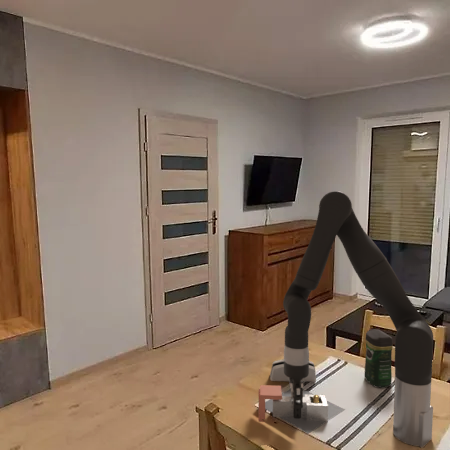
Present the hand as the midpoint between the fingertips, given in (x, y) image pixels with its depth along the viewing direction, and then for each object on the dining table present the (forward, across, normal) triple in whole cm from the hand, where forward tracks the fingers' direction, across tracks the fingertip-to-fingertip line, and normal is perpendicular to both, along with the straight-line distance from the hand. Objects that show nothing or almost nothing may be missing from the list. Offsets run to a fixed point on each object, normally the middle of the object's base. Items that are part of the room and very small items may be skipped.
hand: (295, 409), depth 123 cm
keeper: (+2, 0, +7) cm, 7 cm away
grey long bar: (+2, 0, -1) cm, 2 cm away
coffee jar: (+3, +24, -32) cm, 40 cm away
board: (+2, +4, -2) cm, 5 cm away
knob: (+2, 0, -6) cm, 7 cm away
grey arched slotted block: (+3, +22, -1) cm, 23 cm away
